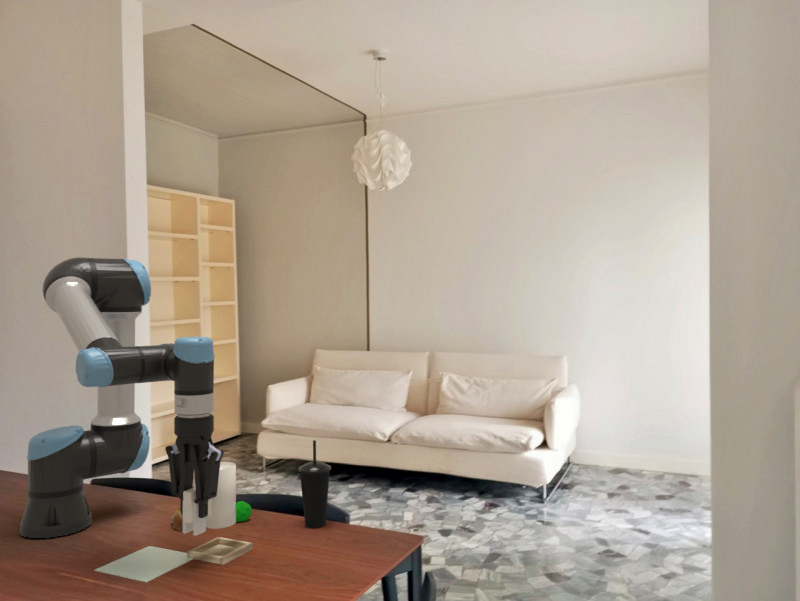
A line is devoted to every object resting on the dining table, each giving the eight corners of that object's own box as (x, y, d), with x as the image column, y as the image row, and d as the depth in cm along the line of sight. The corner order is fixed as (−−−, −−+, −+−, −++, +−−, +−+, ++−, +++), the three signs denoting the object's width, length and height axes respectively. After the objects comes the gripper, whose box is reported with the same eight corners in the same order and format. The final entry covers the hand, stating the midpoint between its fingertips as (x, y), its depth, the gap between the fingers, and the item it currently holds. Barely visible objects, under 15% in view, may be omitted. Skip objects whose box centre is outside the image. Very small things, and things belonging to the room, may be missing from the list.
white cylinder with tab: (217, 515, 140) (217, 460, 140) (242, 520, 137) (242, 463, 137) (174, 535, 128) (174, 474, 128) (200, 540, 125) (200, 478, 125)
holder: (187, 560, 132) (187, 551, 132) (218, 544, 141) (218, 536, 141) (223, 567, 128) (223, 558, 128) (253, 550, 137) (252, 542, 137)
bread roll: (185, 551, 147) (195, 522, 145) (159, 525, 152) (168, 496, 150) (219, 537, 156) (228, 510, 154) (192, 513, 161) (201, 486, 159)
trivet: (94, 573, 126) (94, 569, 126) (149, 548, 139) (149, 545, 139) (146, 585, 120) (146, 581, 120) (199, 558, 133) (199, 555, 133)
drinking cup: (325, 531, 148) (324, 444, 149) (294, 529, 150) (293, 443, 150) (335, 520, 156) (334, 437, 156) (305, 518, 157) (304, 436, 158)
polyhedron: (227, 521, 156) (227, 501, 156) (245, 517, 160) (245, 497, 160) (236, 526, 152) (236, 506, 153) (255, 522, 156) (255, 502, 156)
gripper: (151, 414, 128) (151, 532, 128) (210, 420, 122) (210, 544, 122) (179, 408, 135) (179, 520, 135) (236, 414, 129) (236, 531, 129)
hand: (194, 531), depth 128 cm, fingers closed on white cylinder with tab, 2 cm apart
